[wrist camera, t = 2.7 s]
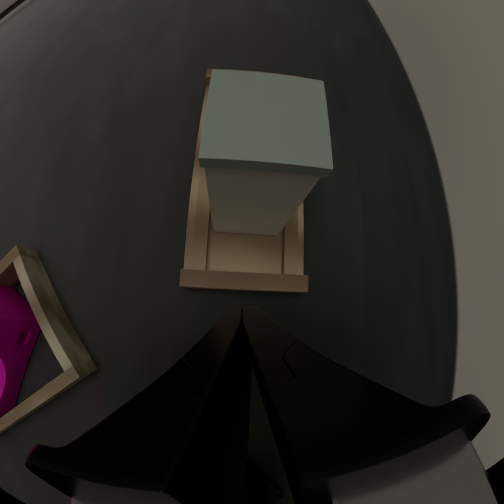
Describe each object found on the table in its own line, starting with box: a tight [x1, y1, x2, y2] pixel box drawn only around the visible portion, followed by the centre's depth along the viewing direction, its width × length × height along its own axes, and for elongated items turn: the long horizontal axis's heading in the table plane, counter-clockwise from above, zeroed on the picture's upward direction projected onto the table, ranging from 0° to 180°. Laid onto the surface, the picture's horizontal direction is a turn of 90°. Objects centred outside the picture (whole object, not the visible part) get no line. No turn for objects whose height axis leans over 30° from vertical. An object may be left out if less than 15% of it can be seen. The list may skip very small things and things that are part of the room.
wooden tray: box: [180, 69, 308, 293], centre depth 23 cm, size 20×9×3 cm, turn 178°
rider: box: [198, 70, 333, 236], centre depth 17 cm, size 5×5×12 cm
